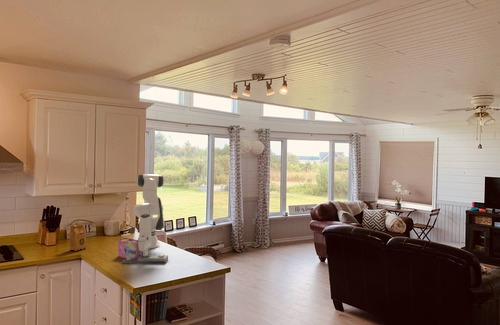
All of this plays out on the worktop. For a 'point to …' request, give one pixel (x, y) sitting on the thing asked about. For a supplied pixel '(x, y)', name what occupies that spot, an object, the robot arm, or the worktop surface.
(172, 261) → the worktop surface
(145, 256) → the pin
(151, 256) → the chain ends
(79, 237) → the coffee package
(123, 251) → the gum box
